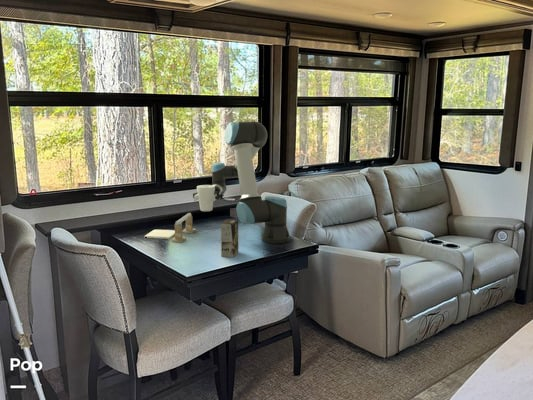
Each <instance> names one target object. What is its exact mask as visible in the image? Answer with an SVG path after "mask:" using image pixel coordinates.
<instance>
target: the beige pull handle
mask: <svg viewBox="0 0 533 400" xmlns="http://www.w3.org/2000/svg"><path fill="white" fill-rule="evenodd" d="M174 230H175V235H174V236H173V237H172V238H171V242H174V243H175V242H177V243H183V242H185V241H186V239H187V238H186V236H185V237H183V233H184V234H194V233H195V232H196V228H193V215H191V216H190V217H189V218H187V219H186V220H185V228H184V229H183V222H182V223H180V224H179V225H176V223H174Z"/></svg>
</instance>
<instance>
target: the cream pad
mask: <svg viewBox="0 0 533 400" xmlns="http://www.w3.org/2000/svg"><path fill="white" fill-rule="evenodd" d="M145 237H147V238H146V239H162V240H163V239H164V240H170V239H172V238H173V237H175V229H173V230H172V229H153V230H152V231H150V232H148V233H146V234H145V235H144V238H145Z"/></svg>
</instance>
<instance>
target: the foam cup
mask: <svg viewBox="0 0 533 400" xmlns="http://www.w3.org/2000/svg"><path fill="white" fill-rule="evenodd" d="M196 191H197V192H198V198H199V199H198V202H199V209H200V211H201V212H211V211H213V207H214V202H213V201H212V196H214V191H215V186H213V185H212V184H202V185H201V184H200V185H197V186H196ZM197 192H196V193H197Z"/></svg>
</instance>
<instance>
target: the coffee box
mask: <svg viewBox="0 0 533 400" xmlns="http://www.w3.org/2000/svg"><path fill="white" fill-rule="evenodd" d="M220 245H221V246H220V248H221V249H220V250H221V252H220V253H221V255H220V256H221V257H226V258H227V257H228V258H234V257H236V256H237V254H238V253H239V220H238V219H225V220H224V221H223V222H221V223H220Z"/></svg>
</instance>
